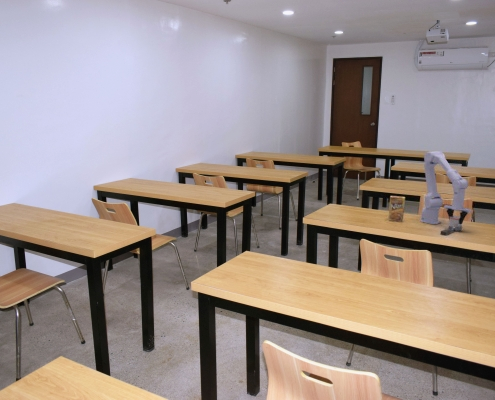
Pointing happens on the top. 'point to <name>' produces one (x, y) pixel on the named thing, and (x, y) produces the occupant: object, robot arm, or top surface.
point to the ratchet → (450, 230)
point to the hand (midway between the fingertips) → (455, 222)
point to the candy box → (396, 208)
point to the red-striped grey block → (455, 221)
